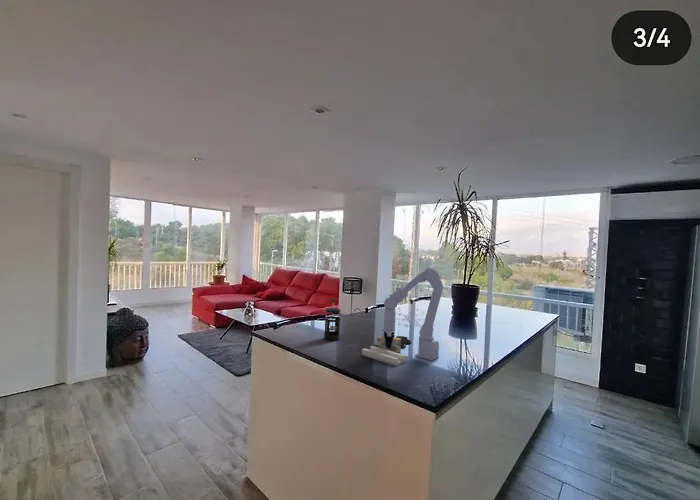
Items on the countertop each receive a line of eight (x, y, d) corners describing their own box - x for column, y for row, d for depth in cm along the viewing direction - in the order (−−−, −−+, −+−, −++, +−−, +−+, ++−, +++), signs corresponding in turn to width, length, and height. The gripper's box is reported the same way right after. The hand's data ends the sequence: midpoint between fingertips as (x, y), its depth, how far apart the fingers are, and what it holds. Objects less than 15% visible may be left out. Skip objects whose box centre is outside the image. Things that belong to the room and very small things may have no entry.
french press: (333, 342, 179) (335, 300, 179) (319, 339, 184) (321, 298, 184) (344, 337, 190) (346, 298, 190) (330, 335, 194) (332, 296, 194)
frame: (400, 350, 169) (400, 338, 169) (400, 352, 166) (401, 339, 166) (377, 348, 170) (377, 336, 170) (376, 350, 167) (377, 337, 167)
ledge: (406, 361, 153) (406, 355, 153) (396, 366, 147) (396, 359, 147) (372, 351, 166) (372, 345, 166) (361, 355, 160) (362, 349, 160)
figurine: (395, 353, 166) (418, 341, 191) (395, 351, 166) (418, 339, 191) (369, 346, 175) (394, 336, 200) (369, 345, 175) (394, 334, 200)
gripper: (382, 317, 176) (381, 342, 176) (381, 323, 161) (380, 350, 161) (395, 318, 175) (394, 343, 175) (395, 324, 160) (394, 351, 160)
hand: (388, 346), depth 168 cm, fingers closed on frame, 3 cm apart
